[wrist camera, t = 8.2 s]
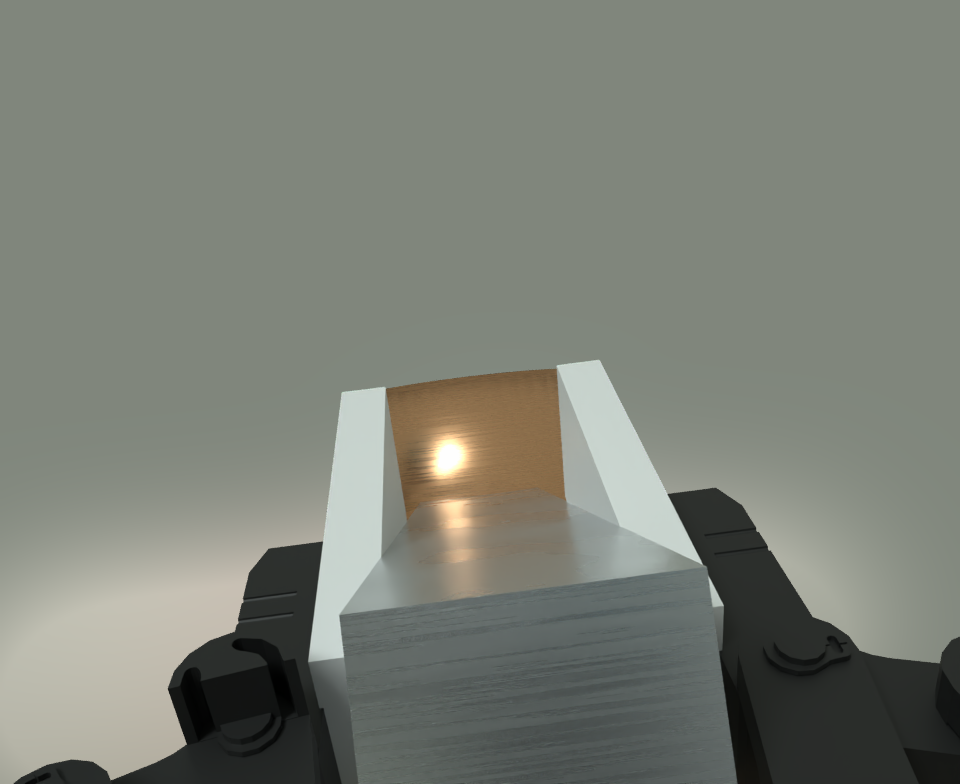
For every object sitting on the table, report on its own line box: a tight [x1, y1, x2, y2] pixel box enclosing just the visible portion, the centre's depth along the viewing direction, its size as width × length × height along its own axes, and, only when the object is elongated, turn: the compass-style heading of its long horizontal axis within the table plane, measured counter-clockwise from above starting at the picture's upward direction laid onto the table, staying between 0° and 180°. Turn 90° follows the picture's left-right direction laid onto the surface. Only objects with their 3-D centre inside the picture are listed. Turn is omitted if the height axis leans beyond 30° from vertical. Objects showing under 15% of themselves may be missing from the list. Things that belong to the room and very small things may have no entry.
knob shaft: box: [339, 369, 737, 784], centre depth 18 cm, size 7×22×6 cm, turn 2°
